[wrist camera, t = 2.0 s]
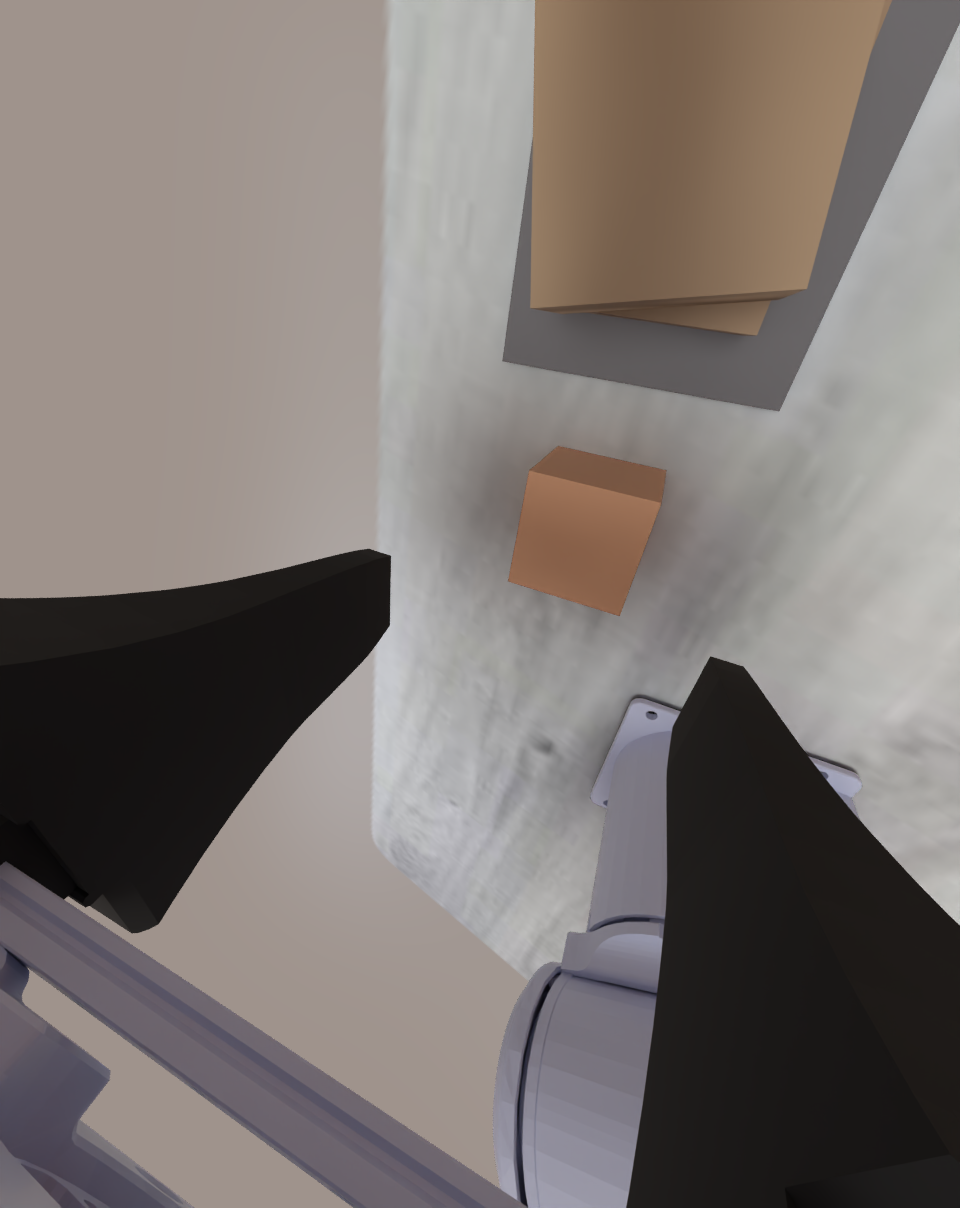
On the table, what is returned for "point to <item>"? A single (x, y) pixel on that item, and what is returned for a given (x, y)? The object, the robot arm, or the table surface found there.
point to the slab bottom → (713, 316)
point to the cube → (585, 527)
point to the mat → (772, 358)
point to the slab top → (688, 146)
